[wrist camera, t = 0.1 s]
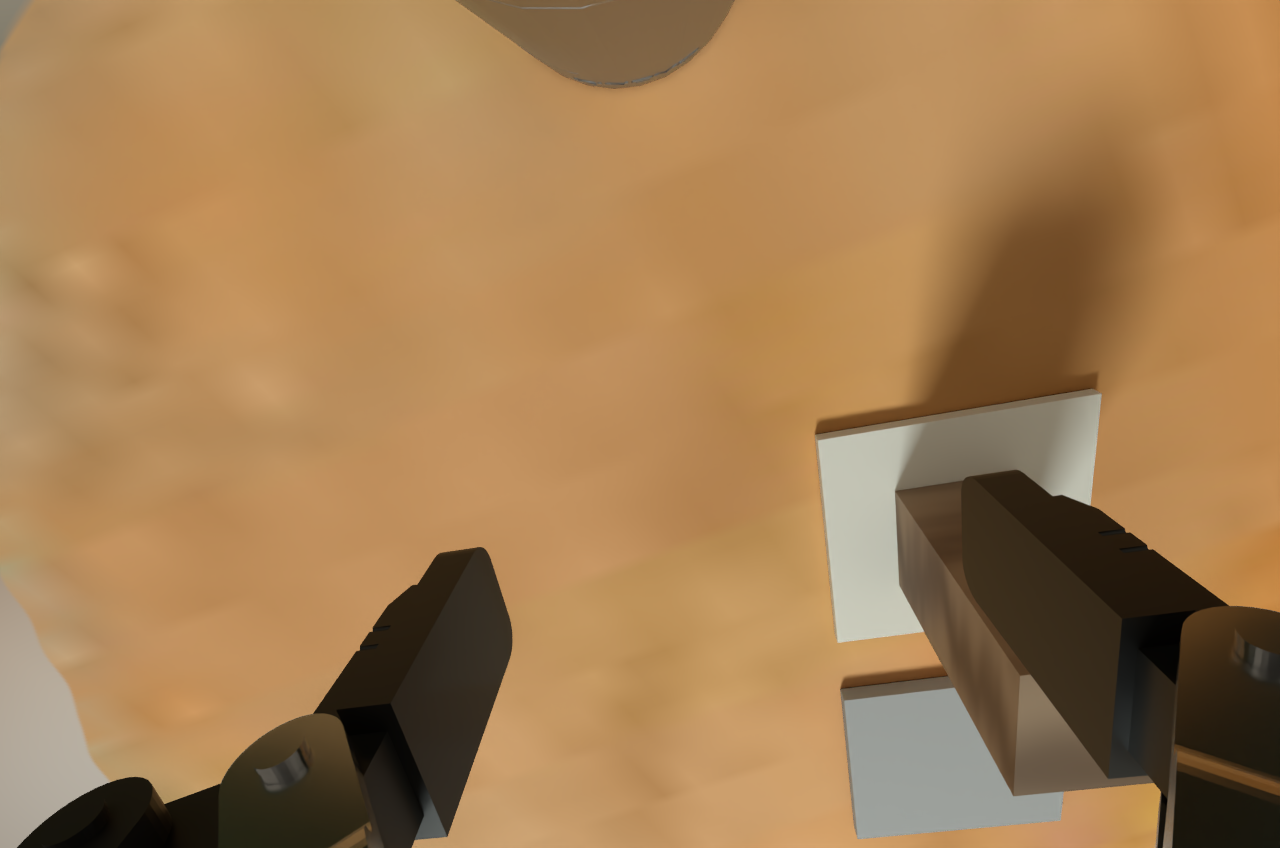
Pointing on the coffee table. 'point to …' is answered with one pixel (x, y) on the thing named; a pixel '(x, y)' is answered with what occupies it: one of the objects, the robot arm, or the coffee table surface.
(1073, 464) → the white tile
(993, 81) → the coffee table surface
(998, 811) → the grey mat
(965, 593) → the walnut block
